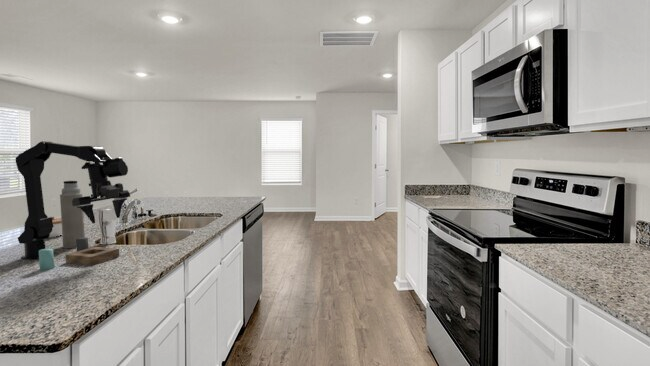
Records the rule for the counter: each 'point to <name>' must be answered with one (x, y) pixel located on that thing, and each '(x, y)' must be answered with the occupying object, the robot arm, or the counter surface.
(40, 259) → the peg
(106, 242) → the beer glass
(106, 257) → the socket block
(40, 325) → the counter surface
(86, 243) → the black dowel
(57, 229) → the lidded jar
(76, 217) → the thermos bottle
